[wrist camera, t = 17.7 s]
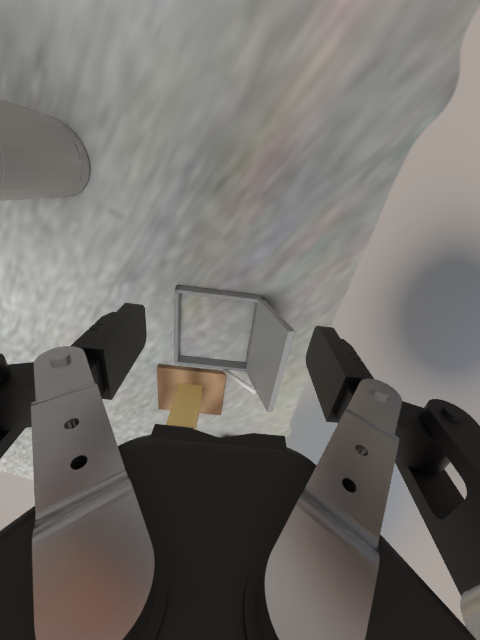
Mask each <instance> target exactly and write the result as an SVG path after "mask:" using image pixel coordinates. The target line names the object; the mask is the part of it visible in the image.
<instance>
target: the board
mask: <svg viewBox="0 0 480 640" xmlns="http://www.w3.org/2000/svg"><path fill="white" fill-rule="evenodd" d="M157 378H158V403H159V409H163V410H171V408H172V405H173V402H174V399H175V396H176V392H177V389H178V386H179V383H184V384H193V385H202V397H201V405H200V410H199V413H204V414H215V415H221V410H222V403H223V395H224V387H225V380H226V374H225V373H224V372H223V371H217V370H208V369H199V368H189V367H180V366H170V365H161V364H158V366H157Z"/></svg>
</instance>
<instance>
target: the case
mask: <svg viewBox="0 0 480 640" xmlns="http://www.w3.org/2000/svg"><path fill="white" fill-rule="evenodd" d="M181 294H189V295H197V296H206V297H214V298H222V299H230V300H238V301H247V302H255V303H256V309H255V314H254V320H253V326H252V331H251V337H250V343H249V348H248V354H247V360H246V363H244V362H234V361H225V360H216V359H207V358H198V357H188V356H180V308H181ZM294 333H295V331H294V330H293V329H292V328H291V327H290V326H289V325H288V324H287V322H286V321H285V320H284V319H283V318H282V317H281V316H280V315H279V314H278V313H277V312H276V311H275V310H274V309H273V308H272V307H271V306H270V305H269V304H268V303H267V302H266V301H265V300H262V297H261V295H254V294H246V293H238V292H229V291H221V290H213V289H205V288H197V287H189V286H181V285H177V286H176V288H175V300H174V364H180V365H189V366H199V367H208V368H217V369H223V372H224V373H225V374H227V375H228V376H229V377H231V378H232V379H234V380H235V381H237V382H238V383H239V384H241V385H242V386H244V387H245V388H246V389H248V390H249V391H251V392H252V393H254V394H256V393H258V395H259V397H260V399H261V401H262V403H263V405H264V406H265V408H266V410H267V412H271V411H273V409H274V406H275V402H276V398H277V395H278V391H279V387H280V384H281V380H282V377H283V373H284V369H285V366H286V362H287V358H288V355H289V351H290V347H291V344H292V340H293V336H294ZM228 370H236V371H246V373H247V374H248V376H249V378H250V380H251V382H252V384H253V386H254V388H255V389H254V388H253V387H251V386H250V385H248V384H247V383H246V382H244V381H243V380H241V379H240V378H238V377H237V376H235V375H234V374H232V373H231V372H230V371H228Z"/></svg>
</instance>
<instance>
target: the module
mask: <svg viewBox="0 0 480 640" xmlns="http://www.w3.org/2000/svg"><path fill="white" fill-rule="evenodd" d="M201 397H202V385H193V384H184V383H179V386H178V389H177V392H176V396H175V399H174V402H173V405H172V408H171V411H170V414H169V417H168V421H167V424H166V425H170V426H181V427H189V428H192V429H195V430H196V426H197V421H198V416H199V410H200V405H201Z"/></svg>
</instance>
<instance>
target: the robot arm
mask: <svg viewBox="0 0 480 640" xmlns="http://www.w3.org/2000/svg"><path fill="white" fill-rule="evenodd" d="M89 174H90V167H89V160H88V156H87V153H86V151H85V148H84V146H83V145H82V143H81V141H80V140H79V138H78V137H77V136H76V135H75V133H74V132H73V131H72V130H71V129H70V128H68V127H67V126H66V125H65V124H63V123H62V122H60V121H58V120H56V119H53V118H51V117H48V116H45V115H42V114H40V113H37V112H34V111H32V110H29V109H26V108H23V107H21V106H18V105H15V104H12V103H9V102H6V101H4V100H1V99H0V201H6V200H21V199H37V198H54V197H67V196H73V195H76V194H78V193H79V192H81V191H82V190H83V189H84V188H85V186H86V184H87V182H88V180H89ZM145 342H146V318H145V308H144V306H143V305H139V304H131V303H125V304H124V305H123V306H122V307H121V308H120V309H119V310H118V311H117V312H111V313H109V314H107V315H105V316H103V317H101V318H100V319H99V320H98V321H97V322H96V323H95V325H92V326H91V327H90V328H89V330H87V331H86V332H85V333H84V334H83V335H82V336H81V337H80V338H79V339H77V340H76V341H75V342H74V343H73V344H72V345H71V346H64V347H58V348H54V349H51V350H48V351H46V352H44V353H42V354H41V355H40V356H38V357H37V358H36V360H35V361H34V362H32V363H21V364H11V365H7V362H6V360H5V357H4V356H3V355H2V354H0V458H1V457H2V456H3V455H4V453H5V452H6V451H7V450H8V449H9V447H10V446H11V445H12V444H13V442H14V441H15V440H16V439H17V438H18V436H19V435H20V434H21V433H22V431H23V430H24V429H25V428H27V427H32V445H33V468H34V492H35V506H34V507H32V508H31V509H30V510H28V511H27V512H26V513H24V514H23V515H21V516H20V517H19V518H17V519H16V520H15V521H13V522H12V523H10V524H9V525H8V526H6V527H5V528H4V529H2V530H1V531H0V640H480V426H479V425H478V424H477V422H476V421H475V420H474V419H473V418H472V417H471V416H470V415H469V414H467V413H466V412H465V411H464V410H462V409H460V408H459V407H457V406H455V405H454V404H451V403H449V402H446V401H443V400H439V399H432V400H430V401H428V403H427V404H426V406H425V407H424V408H422V407H419V406H416V405H412V404H410V403H406V402H403V401H402V398H401V396H400V395H399V394H398V392H397V391H396V390H395V389H394V388H392V387H391V386H389V385H388V384H386V383H384V382H382V381H379V380H376V379H374V378H373V377H372V375H371V374H370V372H369V371H368V369H367V368H366V366H365V365H364V363H363V362H362V361H361V359H360V357H359V356H358V355H357V353H356V352H355V350H354V349H353V347H352V346H351V345H350V344H349V343H347V342H346V341H345V340H344V339H340V337H339V336H338V334H337V333H336V331H335V329H334V328H331V327H323V326H316V327H315V329H314V332H313V335H312V338H311V341H310V344H309V347H308V351H307V354H306V365H307V368H308V371H309V374H310V377H311V379H312V382H313V385H314V388H315V391H316V393H317V396H318V399H319V402H320V405H321V408H322V410H323V413H324V416H325V419H326V421H327V422H337V423H338V425H337V427H336V429H335V431H334V433H333V435H332V437H331V439H330V441H329V443H328V445H327V446H326V448H325V450H324V452H323V454H322V456H321V458H320V460H319V462H318V464H317V465H315V464H314V463H313V462H312V461H311V460H309V459H308V458H306V457H305V456H303V455H302V454H300V453H298V452H296V451H294V450H292V449H290V448H287V447H286V442H285V436H277V435H266V434H256V433H252V434H245V435H238V436H231V437H225V438H219V437H215V436H212V435H209V434H206V433H203V432H200V431H197V430H195V429H192V428H189V427H181V426H170V425H159V424H155V426H154V428H153V431H152V434H151V435H147V436H143V437H139V438H136V439H133V440H130V441H128V442H125V443H123V444H121V445H119V446H117V443H116V440H115V437H114V434H113V431H112V428H111V425H110V422H109V419H108V416H107V413H106V410H105V407H104V404H103V401H102V399H109V400H112V398H113V397H114V395H115V394H116V392H117V390H118V389H119V387H120V385H121V384H122V382H123V380H124V379H125V377H126V376H127V374H128V372H129V371H130V369H131V367H132V366H133V364H134V362H135V361H136V359H137V358H138V356H139V354H140V353H141V351H142V349H143V348H144V346H145ZM450 462H451V463H452V464H453V466H454V467H455V469H456V470H457V472H458V473H459V475H460V476H461V477H462V479H463V481H464V482H465V485H466V488H467V496H466V499H465V500H464V498H463V497H462V495H461V494H460V492H459V491H458V489H457V488H456V486H455V485H454V483H453V482H452V480H451V479H450V477H449V476H448V474H447V472H446V471H445V470H444V469H445V467H446V466H447V465H448V464H449V463H450ZM395 463H396V465H397V467H398V469H399V471H400V473H401V475H402V477H403V479H404V481H405V483H406V485H407V487H408V489H409V491H410V493H411V495H412V497H413V499H414V501H415V504H416V506H417V508H418V510H419V512H420V514H421V515H422V518H423V519H424V522H425V524H426V526H427V528H428V530H429V532H430V534H431V536H432V538H433V540H434V542H435V544H436V546H437V548H438V550H439V552H440V554H441V556H442V558H443V560H444V562H445V564H446V566H447V568H448V570H449V572H450V574H451V576H452V578H453V580H454V582H455V585H456V586H457V588H458V591H459V592H460V594H461V602H460V606H461V613H462V617H463V620H464V623H465V625H466V626H464V625H463V624H462V623H461V621H460V620H459V619H458V618H457V617H456V616H455V615H454V614H453V613H452V612H451V611H450V610H449V608H448V607H447V606H446V605H445V604H444V603H443V602H442V601H441V600H440V599H439V598H438V597H437V595H436V594H435V593H434V592H433V591H432V590H431V589H430V588H429V587H428V586H427V584H426V583H425V582H424V581H423V580H422V579H421V578H420V577H419V576H418V575H417V574H416V573H415V571H414V570H413V569H412V568H411V567H410V566H409V565H408V564H407V563H406V562H405V561H404V559H403V558H402V557H401V556H400V555H399V554H398V553H397V552H396V551H395V550H394V549H393V548H392V546H391V545H390V544H389V543H388V542H387V541H386V540H385V539H384V538H383V537H382V536H381V534H380V531H381V527H382V522H383V517H384V513H385V508H386V502H387V498H388V493H389V488H390V483H391V478H392V474H393V469H394V464H395Z"/></svg>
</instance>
